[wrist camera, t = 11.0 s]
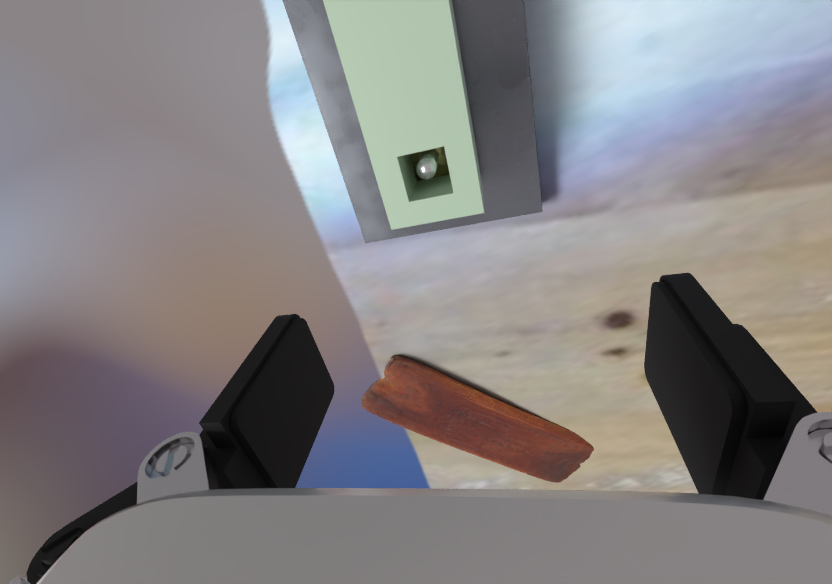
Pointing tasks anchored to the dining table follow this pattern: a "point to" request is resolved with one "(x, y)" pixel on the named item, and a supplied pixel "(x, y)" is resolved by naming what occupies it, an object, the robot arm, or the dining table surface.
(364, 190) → the base plate
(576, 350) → the dining table surface
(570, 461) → the wooden tablet
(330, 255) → the dining table surface
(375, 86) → the slotted bar
